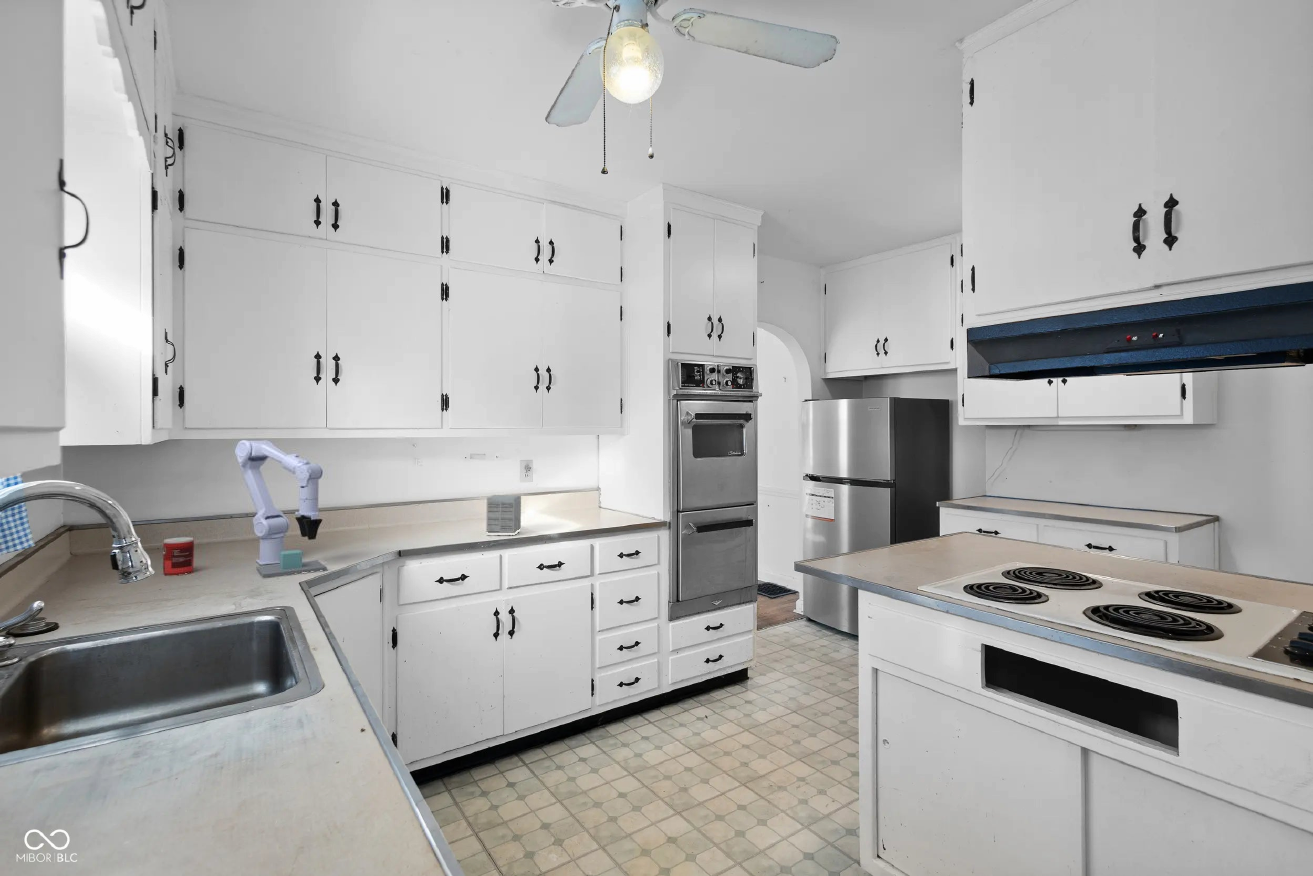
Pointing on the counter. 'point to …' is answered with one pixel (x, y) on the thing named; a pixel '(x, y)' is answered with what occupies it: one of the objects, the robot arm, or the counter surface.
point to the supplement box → (503, 513)
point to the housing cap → (290, 559)
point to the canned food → (178, 556)
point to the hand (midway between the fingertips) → (308, 538)
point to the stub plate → (277, 571)
